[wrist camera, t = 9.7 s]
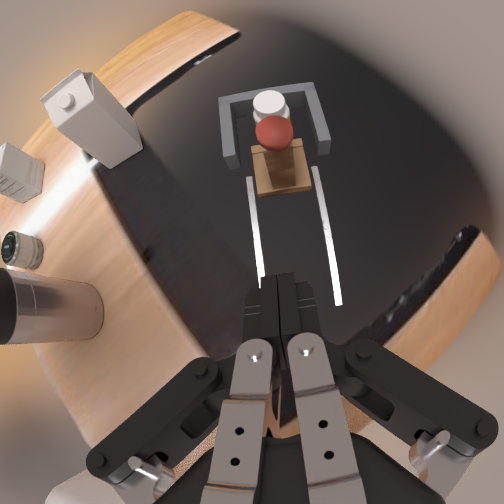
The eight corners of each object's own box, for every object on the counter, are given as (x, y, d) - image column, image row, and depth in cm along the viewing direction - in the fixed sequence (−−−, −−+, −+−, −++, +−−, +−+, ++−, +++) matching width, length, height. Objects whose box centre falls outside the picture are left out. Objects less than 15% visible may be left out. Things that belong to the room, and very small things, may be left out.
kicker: (259, 198, 39) (240, 151, 27) (253, 152, 40) (233, 96, 28) (311, 190, 38) (313, 139, 26) (301, 144, 39) (298, 86, 27)
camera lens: (28, 240, 46) (0, 232, 39) (45, 236, 45) (16, 226, 38) (26, 271, 45) (-3, 265, 37) (43, 269, 44) (13, 262, 36)
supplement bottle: (281, 118, 41) (275, 82, 33) (298, 140, 40) (296, 104, 32) (253, 133, 41) (243, 98, 33) (270, 155, 40) (262, 121, 32)
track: (263, 315, 36) (263, 315, 35) (247, 179, 40) (246, 177, 39) (341, 304, 35) (342, 304, 34) (316, 168, 39) (317, 166, 38)
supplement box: (26, 175, 50) (-11, 155, 38) (45, 164, 49) (7, 140, 37) (22, 204, 49) (-19, 186, 36) (41, 194, 48) (-2, 172, 35)
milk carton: (105, 141, 46) (41, 86, 28) (136, 121, 46) (78, 56, 28) (110, 170, 45) (37, 115, 26) (144, 149, 44) (77, 82, 26)
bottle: (133, 465, 35) (6, 548, 6) (130, 427, 36) (-21, 501, 7) (177, 480, 33) (63, 593, 4) (177, 442, 35) (35, 555, 6)
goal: (230, 170, 41) (223, 157, 37) (224, 112, 43) (218, 98, 39) (329, 154, 39) (331, 139, 35) (312, 98, 41) (312, 82, 37)
